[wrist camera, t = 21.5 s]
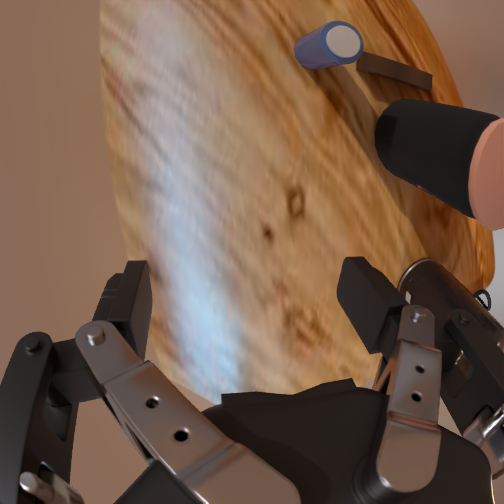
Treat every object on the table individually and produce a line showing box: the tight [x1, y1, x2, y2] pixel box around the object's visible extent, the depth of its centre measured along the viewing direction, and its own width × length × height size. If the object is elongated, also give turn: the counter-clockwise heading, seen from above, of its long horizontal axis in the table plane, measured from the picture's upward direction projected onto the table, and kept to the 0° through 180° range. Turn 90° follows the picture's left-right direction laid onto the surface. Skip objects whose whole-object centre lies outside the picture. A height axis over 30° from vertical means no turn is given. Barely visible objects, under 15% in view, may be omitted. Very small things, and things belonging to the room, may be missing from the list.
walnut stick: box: [356, 52, 432, 91], centre depth 30 cm, size 11×2×2 cm, turn 86°
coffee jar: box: [375, 99, 504, 230], centre depth 27 cm, size 11×11×18 cm
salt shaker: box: [294, 21, 363, 70], centre depth 25 cm, size 4×4×8 cm
